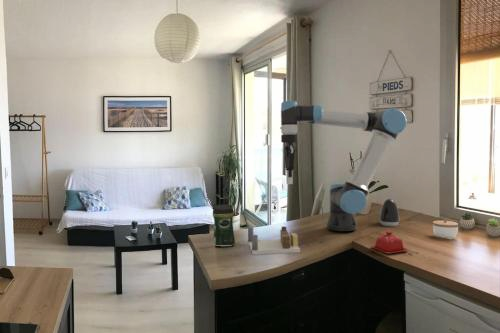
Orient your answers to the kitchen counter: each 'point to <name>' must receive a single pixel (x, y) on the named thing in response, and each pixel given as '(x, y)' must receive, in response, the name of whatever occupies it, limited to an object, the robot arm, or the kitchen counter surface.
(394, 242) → the butter dish
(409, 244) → the kitchen counter surface
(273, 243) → the white board with blocks
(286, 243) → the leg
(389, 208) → the dark grey dome
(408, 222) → the kitchen counter surface
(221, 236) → the coffee jar
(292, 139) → the robot arm
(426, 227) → the kitchen counter surface
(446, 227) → the lidded jar
